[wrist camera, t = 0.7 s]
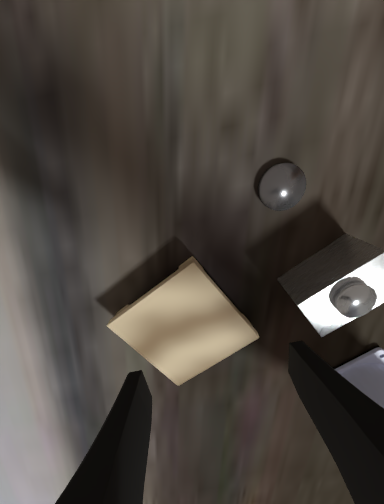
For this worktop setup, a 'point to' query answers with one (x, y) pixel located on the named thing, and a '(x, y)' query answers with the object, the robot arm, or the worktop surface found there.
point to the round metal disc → (282, 186)
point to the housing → (337, 283)
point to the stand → (184, 324)
